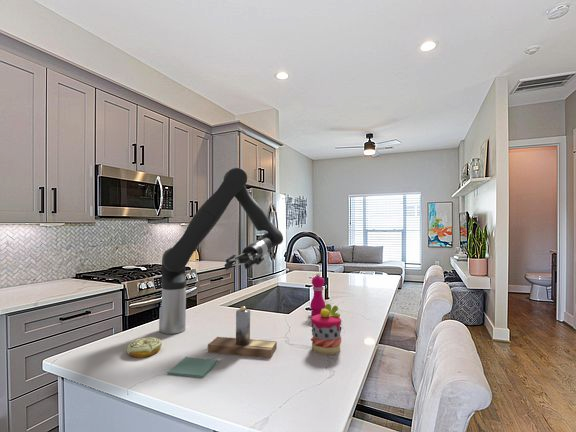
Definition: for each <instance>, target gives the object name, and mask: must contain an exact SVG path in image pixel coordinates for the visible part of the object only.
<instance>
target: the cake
mask: <svg viewBox="0 0 576 432" xmlns="http://www.w3.org/2000/svg"><path fill="white" fill-rule="evenodd" d="M338 310H339V307H338V305H333V306H332V305H331V304H330V303H327V304H326V303H325V309H324V308H322V309H321V314H318V315H315V316H311V335H312V337H311V338H310V341H311V350H312V351H313V352H314V353H315V354H318V355H323V356H332V355H333V356H334V355H336V354H339V353H340V352H341V344H342V337H341V333H342V326H341V325H342V319H341V314H340V313H338V312H337V311H338Z"/></svg>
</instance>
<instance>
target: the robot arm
mask: <svg viewBox="0 0 576 432" xmlns="http://www.w3.org/2000/svg"><path fill="white" fill-rule="evenodd" d="M247 182H248V175H247V172H246V170H245V169H243V168H241V167H234V168H231V169H229V170H228V171H227V172H225V174H224V176H223V181H222V182H221V184H220V185H219V187H218V188H217V190H215V192H213V194H212V195H211V196H209V198H207V199H206V200H205V202H204V203H203V204H202V205H201V206H200V207H199V209H198V210H197V211H196V212H195V213H194V215H193V216H192V218H191V220H190V222H189V223H188V225H187V227H186V229H185V231H184V233H183V235H182V236H181V237H180V238H179V239H178V241H177V242H176V243H175V244H174V245H173V246H172V247H170V248H168V249H166V250H165V252H164V253H162V258H161V306H160V307H159V317H158V319H159V321H158V323H159V325H158V332H159V333H163V334H167V335H170V334H171V335H173V334H178V333H183V332H184V331H185V330H186V317H187V316H186V315H187V314H186V313H187V312H186V311H187V307H186V306H187V279H186V277H187V276H186V266H187V265H188V263H189V260H190V259H191V257H192V256H193V254H194V253H195V250H196V249H197V248H198V247H199V245H200V244H202V241H203V240H204V239H205V238H206V237H207V236H208V235H209V233H210V232H212V231H211V230H213V228H214V227H215V226H216V225H217V223H218V222H219V221H220V219H221V217H222V216H223V214H224V213H225V211H226V210H227V208H228V206H229V205H230V203H231V201H232V200H233V199H234V198H235V199H236V200H237V202H239V205H240V206H241V207H242V209H243V210H244V211H245V214H247V215H246V216H247V217H248V218H249V220H250V221H251V223H252V224H253V227H254V228H255V229H256V231H257V232H262V231H266V233H264V234H263V235H261V236H260V237H259V238H258V239H257V240H255V241H253V242H251V243H249V244H248V245H247V246H246V247H244V249H243V250H242V252H241V254H239V255H236V254H232V255H231V256H230V257H228V258H227V259H225V263H224V269H225V270H226V271H227V270H230V269H231V268H232V267H234V266H236V267H237V266H241V265H244V268H245V270H247V269H249V268H251V267H252V266H255V264H256V265H257V266H258V265H260V264H262V262H263V261H264V260H265V256H266V255H267V254H268V253H269V252H270V251H271V250H272V248H274V247H277V246H279V245H281V244H283V242H284V236H283V233H282V232H281V230H280V229H279V228H277V226H275V224H273V223H272V222H271V221H270V220H269V217H267V215H266V213H265V211H264V210H263V208H262V207H261V206H260V204H258V203H257V201H256V200H255V199H254V197H252V195H251V194H250V192H249V191H248V189H247V187H246V184H247Z"/></svg>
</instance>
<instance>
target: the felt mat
mask: <svg viewBox="0 0 576 432" xmlns="http://www.w3.org/2000/svg"><path fill="white" fill-rule="evenodd" d="M218 363H219V359H215V358H213V359H212V358H202V357H201V358H200V357H193V356H185V357H184V358H183V359H182V360H180V361H179V362H177V363H176V364H175V365H174V366H173V367H172V368H171V369H169V370H168V371H167V375H169V376H170V375H173V376H181V377H191V378H199V379H200V378H201V379H202V378H203V379H204V377H206V375H207V374H208V373H209V372H211V370H212V369H213V368H214V367H215V366H216V365H217V364H218Z"/></svg>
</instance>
